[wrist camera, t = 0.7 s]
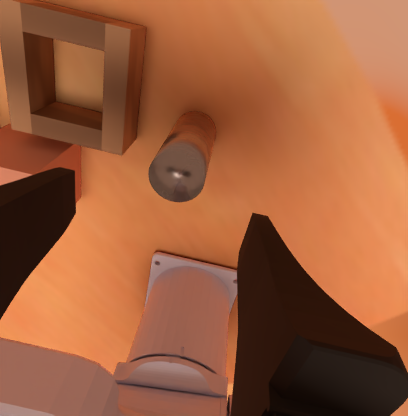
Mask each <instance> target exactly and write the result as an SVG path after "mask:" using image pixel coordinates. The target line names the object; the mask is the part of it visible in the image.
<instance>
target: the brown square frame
mask: <svg viewBox="0 0 408 416" xmlns="http://www.w3.org/2000/svg"><path fill="white" fill-rule="evenodd" d="M145 37H146V27H145V26H141V25H136V24H132V23H128V22H124V21H120V20H116V19H112V18H108V17H104V16H100V15H95V14H91V13H87V12H83V11H79V10H75V9H71V8H67V7H63V6H59V5H55V4H50V3H46V2H42V1H38V0H0V43H1V51H2V59H3V67H4V74H5V82H6V90H7V98H8V105H9V113H10V121H11V129H13V130H17V131H21V132H25V133H30V134H34V135H38V136H42V137H46V138H51V139H55V140H59V141H63V142H67V143H72V144H76V145H80V146H84V147H88V148H92V149H97V150H101V151H105V152H109V153H113V154H118V155H123V154H124V153H125V151H126V150H127V149H128V148H129V147H130V146H131V144H132V143H133V142H134V141H135V140H136V134H137V123H138V113H139V102H140V91H141V80H142V70H143V59H144V48H145ZM53 39H56V40H60V41H65V42H69V43H73V44H77V45H81V46H85V47H89V48H93V49H98V50H102V51H105V55H104V87H103V113H101V112H97V111H93V110H89V109H85V108H80V107H76V106H72V105H68V104H64V103H60V102H56V98H55V77H54V57H53Z"/></svg>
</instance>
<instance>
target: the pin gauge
mask: <svg viewBox="0 0 408 416" xmlns="http://www.w3.org/2000/svg"><path fill="white" fill-rule="evenodd" d="M215 137H216V128H215V125H214V123H213V121H212V120H211V118H210V117H208V116H207V115H206V114H204V113H202V112H197V111H192V112H188V113H185V114H184V115H182V116H181V117H180V118H179V120H178V121H177V123H176V124H175V126H174V128H173V129H172V131H171V132H170V134H169V135H168V137H167V139H166V140H165V142H164V143H163V145H162V147H161V148H160V150H159V151H158V153H157V155H156V156H155V158H154V159H153V161H152V163H151V165H150V167H149V180H150V183H151V185H152V187H153V189H154V190H155V191H156V192H157V193H158V194H159V195H160V196H161V197H163V198H165V199H167V200H170V201H174V202H185V201H189V200H191V199H193V198H195V197H196V196H197V195H198V194H199V193H200V192H201V190H202V188H203V186H204V182H205V178H206V174H207V170H208V166H209V162H210V158H211V153H212V149H213V145H214V141H215Z"/></svg>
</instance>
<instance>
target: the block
mask: <svg viewBox="0 0 408 416" xmlns="http://www.w3.org/2000/svg"><path fill="white" fill-rule="evenodd" d="M57 167H62V168H66V169H71V170H75V197H76V202H77V201H78V200H79V199H80V198H81V146H80V145H76V144H72V143H67V142H63V141H59V140H55V139H51V138H46V137H42V136H38V135H34V134H30V133H25V132H21V131H17V130H13V129H11V124H9V125H7V126H4V127H2V128H0V185H3V184H6V183H10V182H13V181H16V180H19V179H22V178H25V177H28V176H31V175H34V174H37V173H40V172H43V171H46V170H50V169H53V168H57Z"/></svg>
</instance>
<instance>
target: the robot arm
mask: <svg viewBox="0 0 408 416" xmlns="http://www.w3.org/2000/svg"><path fill="white" fill-rule="evenodd" d="M75 213H76V197H75V170H71V169H66V168H62V167H57V168H53V169H50V170H46V171H43V172H40V173H37V174H34V175H31V176H28V177H25V178H22V179H19V180H16V181H13V182H10V183H6V184H3V185H0V319H1V318H2V316H3V314H4V313H5V311H6V309H7V308H8V306H9V305H10V303H11V301H12V300H13V298H14V297H15V295H16V294H17V292H18V291H19V289H20V288H21V286H22V285H23V283H24V282H25V280H26V279H27V278H28V276H29V275H30V274H31V272H32V271H33V270H34V269H35V268H36V266H37V265H38V264H39V263H40V261H41V260H42V259H43V258H44V257H45V255H46V254H47V253H48V252H49V251H50V249H51V248H52V247H53V246H54V245H55V243H56V242H57V241H58V240H59V238H60V237H61V236H62V235H63V233H64V232H65V230H66V229H67V227H68V226H69V224H70V222H71V220H72V219H73V217H74V215H75ZM156 261H159V262H160V263H159V262H156ZM235 279H237V281H235ZM236 296H238V339H237V352H236V363H235V374H234V384H233V394H232V395H229V397H228V402H227V384H228V378H227V377H226V376H225V374H226V356H227V339H228V321H229V314H230V311H231V309H232V306H233V303H234V301H235V298H236ZM407 398H408V372H407V370H406V368H405V366H404V364H403V361H402V359H401V357H400V355H399V352H398V350H397V348H396V347H394V346H393V345H392V344H390V343H389V342H387V341H386V340H384V339H383V338H381V337H380V336H379V335H377V334H376V333H374V332H373V331H371V330H370V329H368V328H367V327H366V326H364V325H363V324H362V323H360V322H359V321H358V320H357V319H355V318H354V317H353V316H351V315H350V314H349V313H348V312H347V311H345V310H344V309H343V308H342V307H341V306H339V305H338V304H337V303H336V302H335V301H334V300H333V299H332V298H331V297H330V296H329V295H327V294H326V293H325V292H324V291H323V290H322V289H321V288H320V287H319V286H318V285H317V284H316V282H315V281H314V280H313V279H312V278H311V277H310V276H309V275H308V274H307V273H306V271H305V270H304V269H303V268H302V267H301V265H300V264H299V263H298V261H297V260H296V259H295V257H294V256H293V255H292V253H291V252H290V251H289V249H288V248H287V246H286V245H285V243H284V242H283V240H282V239H281V237H280V235H279V234H278V232H277V231H276V229H275V227H274V226H273V224H272V222H271V221H270V219H269V217H268V216H264V215H260V214H256V213H252V216H251V219H250V222H249V225H248V228H247V231H246V233H245V236H244V239H243V242H242V245H241V248H240V250H239V257H238V267H237V270H234V269H230V268H226V267H221V266H217V265H213V264H208V263H204V262H200V261H196V260H191V259H187V258H183V257H179V256H174V255H170V254H166V253H162V252H155V253H154V255H153V257H152V263H151V270H150V276H149V283H148V289H147V295H146V302H145V308H144V312H143V315H142V318H141V321H140V324H139V327H138V330H137V332H136V335H135V338H134V341H133V344H132V347H131V350H130V353H129V356H128V359H127V362H126V363H120V362H119V363H118V364H117V366H116V369H115V372H114V375H112V374H111V373H110V372H109V371H107V370H106V369H105V368H104V367H102V366H101V365H100V364H99V363H97V362H94V361H92V360H89V359H86V358H84V357H81V356H79V355H75V354H70V353H66V352H62V351H57V350H53V349H49V348H44V347H40V346H35V345H31V344H27V343H22V342H18V341H14V340H9V339H5V338H0V416H390V415H391V414H392V413H393V412H394V411H396V410H397V409H398V408H399V407H400V406H401V405H402V404H403V403H404V402H405V401H406V399H407Z"/></svg>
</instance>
